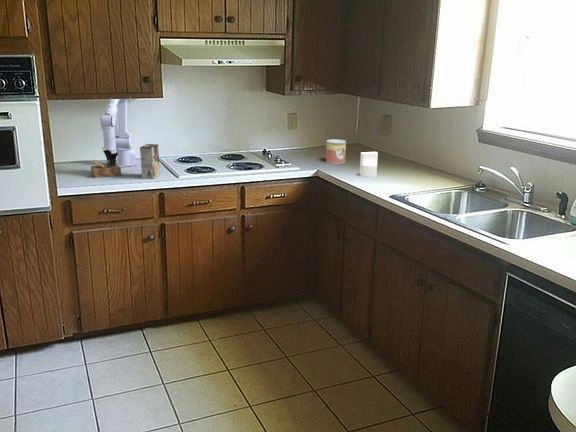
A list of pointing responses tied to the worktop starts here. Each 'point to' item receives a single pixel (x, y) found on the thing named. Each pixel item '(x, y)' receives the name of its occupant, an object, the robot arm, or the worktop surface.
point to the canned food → (335, 151)
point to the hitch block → (105, 171)
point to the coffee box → (150, 161)
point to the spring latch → (98, 163)
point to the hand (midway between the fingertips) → (111, 164)
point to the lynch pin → (109, 163)
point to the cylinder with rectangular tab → (368, 164)
